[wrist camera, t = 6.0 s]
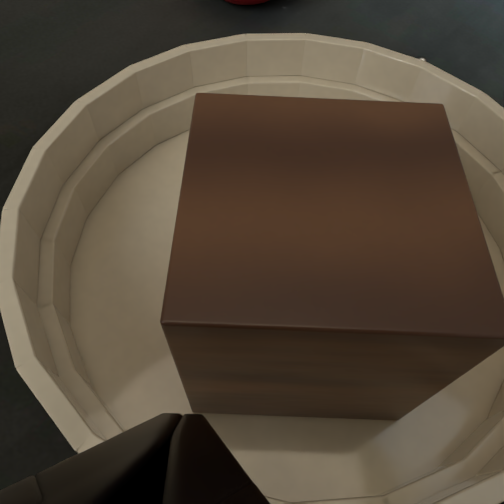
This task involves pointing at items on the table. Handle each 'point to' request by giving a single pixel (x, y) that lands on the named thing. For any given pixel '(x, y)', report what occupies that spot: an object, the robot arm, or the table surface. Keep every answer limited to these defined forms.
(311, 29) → the table surface
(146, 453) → the robot arm
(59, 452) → the table surface
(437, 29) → the table surface
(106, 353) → the bowl
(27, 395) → the table surface
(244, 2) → the apple
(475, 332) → the block
